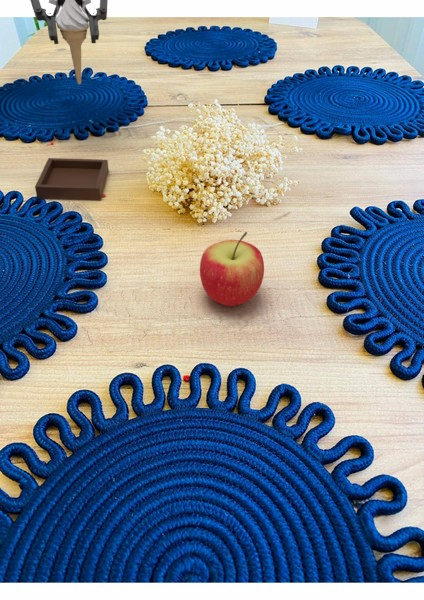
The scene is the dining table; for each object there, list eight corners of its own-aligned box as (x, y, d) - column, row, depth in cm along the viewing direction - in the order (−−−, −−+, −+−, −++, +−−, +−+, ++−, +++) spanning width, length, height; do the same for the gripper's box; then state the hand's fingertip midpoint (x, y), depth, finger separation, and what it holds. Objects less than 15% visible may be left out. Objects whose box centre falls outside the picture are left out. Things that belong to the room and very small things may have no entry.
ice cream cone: (61, 80, 98) (48, -13, 88) (92, 77, 99) (82, -14, 90) (66, 90, 94) (54, -6, 84) (98, 87, 95) (89, -7, 86)
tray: (37, 198, 89) (34, 186, 88) (50, 169, 97) (48, 157, 96) (100, 200, 90) (99, 188, 88) (108, 171, 98) (107, 159, 96)
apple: (273, 305, 71) (282, 243, 64) (218, 326, 67) (222, 262, 61) (239, 271, 76) (245, 211, 69) (187, 289, 73) (188, 227, 66)
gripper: (15, -71, 86) (28, 29, 85) (105, -69, 89) (118, 27, 88) (22, -38, 93) (33, 54, 92) (104, -38, 96) (117, 52, 95)
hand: (75, 40), depth 90 cm, fingers closed on ice cream cone, 5 cm apart
